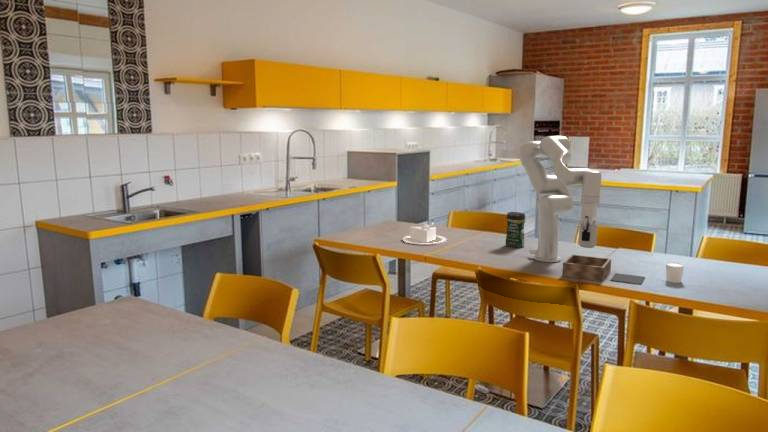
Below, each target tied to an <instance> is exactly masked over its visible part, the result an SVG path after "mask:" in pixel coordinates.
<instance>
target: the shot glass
mask: <svg viewBox="0 0 768 432" xmlns="http://www.w3.org/2000/svg"><path fill="white" fill-rule="evenodd" d="M684 267H685V265H684V264H681V263H676V262H667V263H665V274H666V276H665V277H666V278H665V280H666V281H667V282H669V283H674V284H676V283H677V284H678V283H681V282H682V277H683V275H684V274H683V273H684Z"/></svg>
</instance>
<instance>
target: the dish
mask: <svg viewBox="0 0 768 432" xmlns="http://www.w3.org/2000/svg"><path fill="white" fill-rule="evenodd" d="M434 224H435V223H434V222H431V224H427V223H426V222H424V224H423V225H422V226H410V227H409V235H405V236H404V237H402V238H401V241H402V240H403V241H404V242H406V243H405V244H407V243H411V244H421V245H429V244H439V243H443V242H445V241H446V240H447V237H444V236H443V235H438V234H437V227H436V226H433V225H434ZM432 226H433V227H432ZM436 237H438V238H440V239H442V240H441V241H439V242H433V243H417V242H411V241H408V240H407V239H408V238H412V239H416V240H420V241H423V242H429V241H432V240H435V239H436ZM403 241H402V242H403ZM404 242H403V243H404ZM446 242H447V241H446ZM446 242H445V243H446ZM411 244H410V245H411ZM443 244H444V243H443ZM439 245H440V244H439Z"/></svg>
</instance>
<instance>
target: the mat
mask: <svg viewBox="0 0 768 432" xmlns="http://www.w3.org/2000/svg"><path fill="white" fill-rule="evenodd" d="M645 279H646V277H645V276H643V275H632V274H626V273H617V272H615V273H614V274H613V276H612V277H611V279H610V281H611V282H616V283H617V282H618V283H625V284H631V283H632V285H638V286H639V285H640V286H641V285H642V284H643V283H644V280H645Z"/></svg>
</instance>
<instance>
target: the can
mask: <svg viewBox="0 0 768 432" xmlns="http://www.w3.org/2000/svg"><path fill="white" fill-rule="evenodd" d="M587 225H589V224H588V223H587ZM598 225H599V224H598V222H597V219H596V220H595V221H593V224H592V226H590V231H589V232H590V240H589V241H582V230H583V225H580V224H579V229H578V242H577V245H579V246H580V247H581V248H586V249H593V248H595V247H596V246H597V237H598V228H599V227H598Z"/></svg>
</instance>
